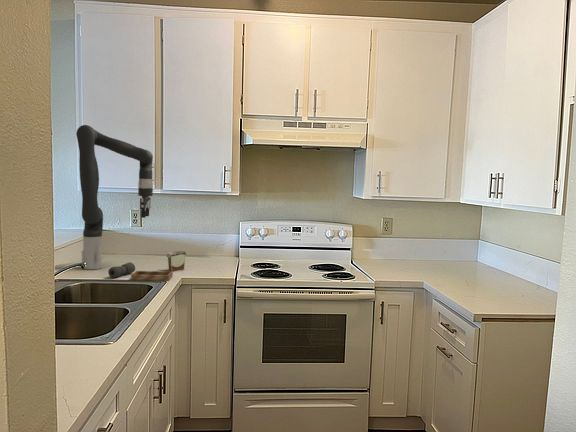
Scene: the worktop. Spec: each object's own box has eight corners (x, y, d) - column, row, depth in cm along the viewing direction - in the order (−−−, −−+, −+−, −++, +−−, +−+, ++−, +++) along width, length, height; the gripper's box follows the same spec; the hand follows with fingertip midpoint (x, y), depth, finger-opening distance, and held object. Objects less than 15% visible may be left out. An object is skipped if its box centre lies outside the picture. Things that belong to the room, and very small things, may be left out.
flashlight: (117, 268, 228) (107, 265, 230) (115, 279, 229) (106, 276, 230) (136, 263, 243) (127, 260, 244) (134, 273, 243) (126, 270, 245)
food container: (177, 267, 262) (178, 250, 261) (186, 269, 259) (186, 251, 258) (161, 271, 251) (161, 252, 251) (169, 272, 248) (170, 254, 247)
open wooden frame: (131, 280, 228) (131, 274, 228) (136, 275, 238) (136, 270, 238) (169, 280, 229) (169, 275, 229) (172, 276, 239) (172, 271, 239)
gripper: (141, 186, 263) (141, 215, 264) (135, 187, 249) (134, 217, 250) (155, 187, 264) (154, 216, 265) (149, 187, 249) (149, 218, 251)
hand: (145, 216), depth 257 cm, fingers open, 8 cm apart
